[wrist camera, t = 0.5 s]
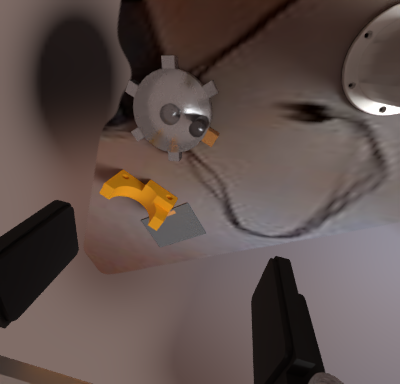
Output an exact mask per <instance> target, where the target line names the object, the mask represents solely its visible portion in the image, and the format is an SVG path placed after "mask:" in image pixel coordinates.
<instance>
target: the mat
mask: <svg viewBox="0 0 400 384" xmlns="http://www.w3.org/2000/svg"><path fill="white" fill-rule="evenodd" d="M141 221H142V223H143V224H144V225H145V227H146V228H147V230H148V231H149V232H150V234H151V235H152V237H153V238H154V239H155V241H156V242H157V244H158V245H159V246H160V247H163V246H166V245H170V244H173V243H176V242H179V241H183V240H186V239H189V238H193V237H196V236H199V235H202V234H206V232H205V231H204V229H203V227H202V226H201V224H200V222H199V221H198V219H197V217H196V216H195V214H194V212H193V211H192V209H191V207H190V206H189V204H188V203H186V204H183V205H180V206H178V207H175V208H173V209H171V210H170V212H169V213H168V215H167V217H166V218H165V220H164V222H163V223H162V225H161V226H160V227H159V228H158V230H157V231H156V230H154V229H153V228H151V227H150V226H148V223H149V218H146V219H143V220H141Z"/></svg>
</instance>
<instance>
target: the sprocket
mask: <svg viewBox="0 0 400 384" xmlns="http://www.w3.org/2000/svg"><path fill="white" fill-rule="evenodd" d="M161 59H162V69H159V70H156V71H154V72H152V73H150V74H149V75H148V76H146V77H145V78H144V79H143V80H142V81H141V83H139V82H138V81H136V80H129V82H128V85H127V88H126V91H125V92H127V93H128V94H130V95H131V96H133V97H134V102H133V112H134V117H135V121H136V124H137V126H138V128H136V129H135V130H133V131H132V134H133V135H134V137H135V138H136V140H137V141H139V140H141V139H143V138H144V137H145V138H146V140H148V141H149V142H150V143H151V144H152V145H154V146H155V147H157V148H159V149H161V150H164V151H167V152H168V157H169V161H180V160H181V158H182V152H183V151H187V150H189V149H191V148H193V147H195V146H196V145H197V144H198V143H199V142H200V141H203V142H204V143H206V144H207V145H209V146H211V147H212V145H213V144H214V142H215V141H216V139H217V137H218V136H219V133H218V132H217V131H215V130H214V129H212V128H211V127H210V124H211V120H212V103H211V100H210V97H212V96H214V95H215V94H217V93H218V92H219V91H218V89H217V86H216V84H215V82H214V80H212V81H210V82H208V83H207V84H205V85H203V84H202V83H201V82H200V81H199V79H197V78H196V77H195V76H194V75H192V74H191V73H189V72H186V71H184V70H180V69H178V56H174V55H171V56H161Z"/></svg>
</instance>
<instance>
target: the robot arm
mask: <svg viewBox="0 0 400 384" xmlns="http://www.w3.org/2000/svg"><path fill="white" fill-rule="evenodd" d="M365 34H367V37H366V38H365V37H364V36H365ZM350 83H351V86H350V87H348V85H349V84H350ZM342 86H343V91H344V93H345V95H346V97H347V99H348V100H349V101H350V103H351V104H352V105H353V106H355V107H356V108H357V109H359V110H361V111H363V112H365V113H368V114H372V115H378V116H387V115H395V114H399V113H400V3H399V4H397V5H395V6H393V7H391V8H389V9H387V10H385V11H384V12H382V13H381V14H379V15H378V16H377V17H375V18H374V19H373V20H372V21H371V22H370V23H369V24H368V25H366V26H365V27H364V28H363V29H362V31H361V32H360V33H359V35H358V36H357V37H356V38H355V40H354V41H353V43H352V45H351V47H350V48H349V50H348V53H347V55H346V58H345V60H344V64H343V69H342ZM380 108H381V110H379V109H380ZM78 248H79V247H78V240H77V232H76V224H75V218H74V209H73V207H71V204H70V203H66V202H63V201H59V200H55V201H53V202H52V203H50V204H48V205H47V206H45V207H44V208H42V209H41V210H39V211H38V212H37V213H35V214H34V215H32V216H31V217H29V218H28V219H26V220H25V221H23V222H22V223H20V224H19V225H17V226H16V227H14V228H13V229H11V230H10V231H8V232H7V233H5V234H4V235H2V236H1V237H0V327H2V328H6V327H7V326H8V325H9V324H10V323H11V322H12V321H15V320H17V319H18V318H19V317H20V316H21V315H22V314H23V313H24V312H25V310H26V309H27V308H28V307H29V306H30V305H31V304H32V303H33V302H34V300H36V298H37V297H38V296H39V295H40V294H41V293H42V292H43V291H44V290H45V289H46V288H47V286H48V285H49V284H50V283H51V282H52V281H53V280H54V279H55V278H56V277H57V276H58V274H59V273H60V272H61V271H62V270H63V269H64V268H65V267H66V266H67V265H68V264H69V263H70V261H71V260H72V259H73V258H74V257H75V256H76V255H77V253H78V250H79V249H78ZM251 307H252V338H253V366H254V367H253V368H254V384H344V383H342V382H341V381H340V380H339V379H338V378H336V377H335V376H333V375H331V374H329V373H325V369H324V366H323V362H322V358H321V355H320V351H319V348H318V344H317V341H316V337H315V333H314V329H313V326H312V322H311V318H310V315H309V311H308V307H307V304H306V300H305V298H304V296H303V295H301V294H298V290H297V286H296V283H295V278H294V274H293V270H292V267H291V262H290V260H289V259H285V258H282V257H278V256H275V258H274V259H272V258H270V260H269V262H268V264H267V266H266V268H265V270H264V272H263V274H262V277H261V279H260V281H259V283H258V285H257V287H256V289H255V292H254V294H253V296H252V301H251ZM0 384H92V383H88V382H85V381H82V380H79V379H76V378H72V377H69V376H66V375H63V374H60V373H56V372H53V371H49V370H47V369H43V368H40V367H37V366H33V365H30V364H27V363H23V362H20V361H17V360H14V359H10V358H7V357H4V356H1V355H0Z"/></svg>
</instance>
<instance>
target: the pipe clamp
mask: <svg viewBox="0 0 400 384" xmlns="http://www.w3.org/2000/svg"><path fill="white" fill-rule="evenodd" d="M100 194H101V195H103V196H104V197H106V198H107V199H110V198H112V197H115V196H126V197H130V198H132V199H135V200H136V201H138V202H139V203H141V204H142V205H143V206H144V207H145V209H146V210H147V212H148V214H149V223H148V226H150V227H151V228H153V229H154V230H156V231H157V230H158V228H159V227H160V226H161V225H162V223H163V222H164V220H165V218H166V217H167V215H168V213H169V212H170V210H171V209H172V208H173V206H174V205H175V203H176V201H177V199H178V198H177V197H176V196H174V195H173V194H171V193H170V192H168V191H167V190H165V189H164V188H163V187H161V186H160V185H158V184H157V183H155V182H154V181H152V180H150V181H149V182H148V183H147V184H146V185H145V184H144V183H142V182H141V181H139V180H138V179H136V178H135V177H133V176H132V175H130V174H129V173H128V172H126V171H125V170H121V171H120V172H119V173H117V174H116V175H115V176H113V177H112V178H111V179H109V180H108V181H107V182H105V183H104V185H103V187H102V189H101V191H100Z"/></svg>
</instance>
